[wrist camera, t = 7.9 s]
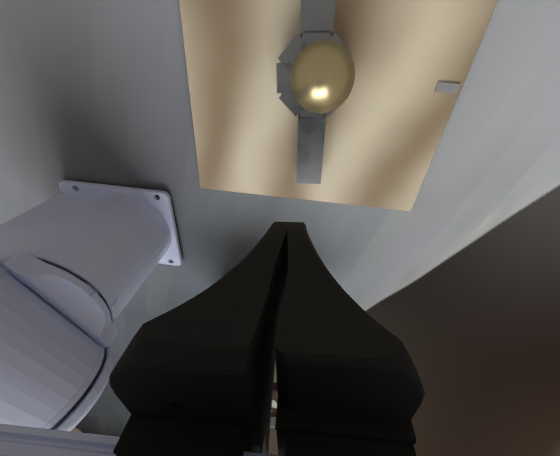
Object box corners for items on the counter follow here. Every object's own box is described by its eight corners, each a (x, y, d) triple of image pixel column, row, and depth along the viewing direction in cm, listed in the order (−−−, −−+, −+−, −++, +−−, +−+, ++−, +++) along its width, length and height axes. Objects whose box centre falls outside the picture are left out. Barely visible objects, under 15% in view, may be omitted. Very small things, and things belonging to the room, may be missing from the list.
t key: (337, 175, 18) (339, 184, 16) (280, 173, 18) (278, 182, 17) (367, -81, 11) (374, -100, 10) (277, -75, 12) (273, -93, 10)
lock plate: (204, 182, 20) (188, 202, 17) (171, -146, 11) (126, -214, 9) (406, 204, 20) (422, 228, 17) (537, -127, 11) (619, -195, 8)
